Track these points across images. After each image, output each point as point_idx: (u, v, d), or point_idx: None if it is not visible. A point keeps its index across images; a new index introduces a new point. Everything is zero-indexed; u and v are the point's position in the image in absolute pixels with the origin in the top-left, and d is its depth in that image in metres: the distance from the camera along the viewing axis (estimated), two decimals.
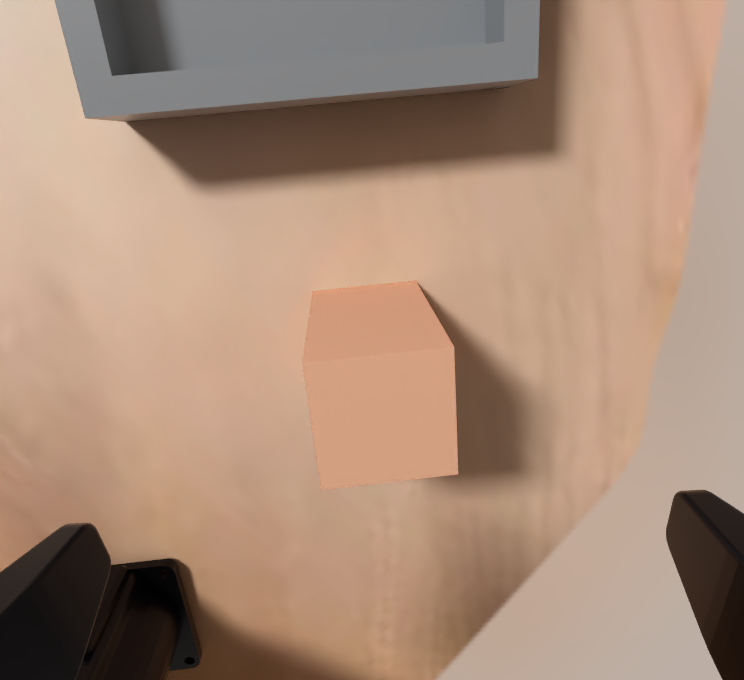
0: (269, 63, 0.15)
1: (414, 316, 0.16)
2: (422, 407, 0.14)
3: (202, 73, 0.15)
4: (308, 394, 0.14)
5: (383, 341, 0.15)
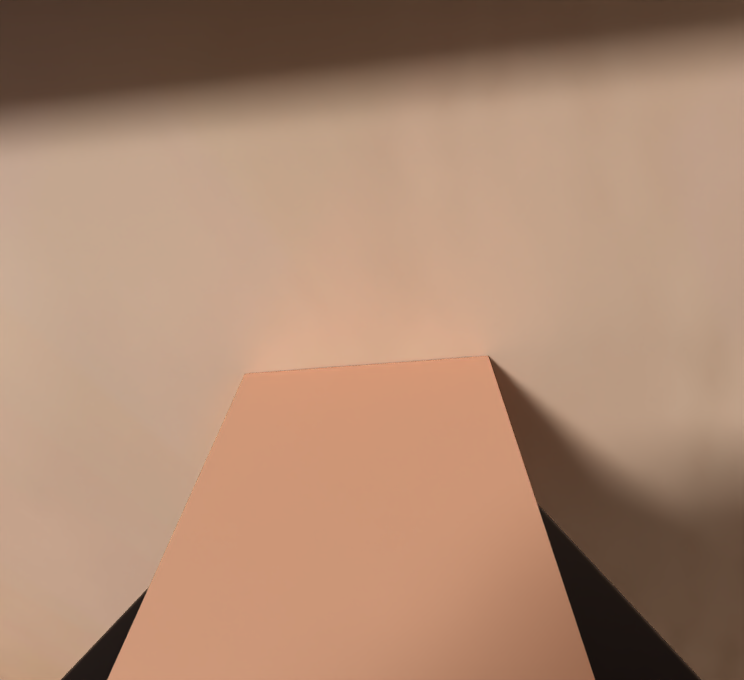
0: None
1: (494, 590, 0.05)
2: None
3: None
4: None
5: None
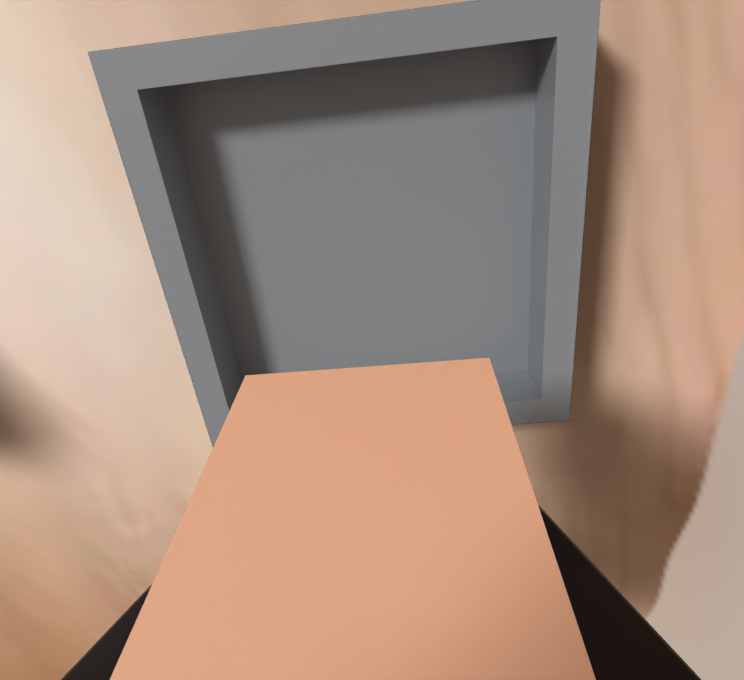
0: None
1: (495, 595, 0.05)
2: None
3: None
4: None
5: None
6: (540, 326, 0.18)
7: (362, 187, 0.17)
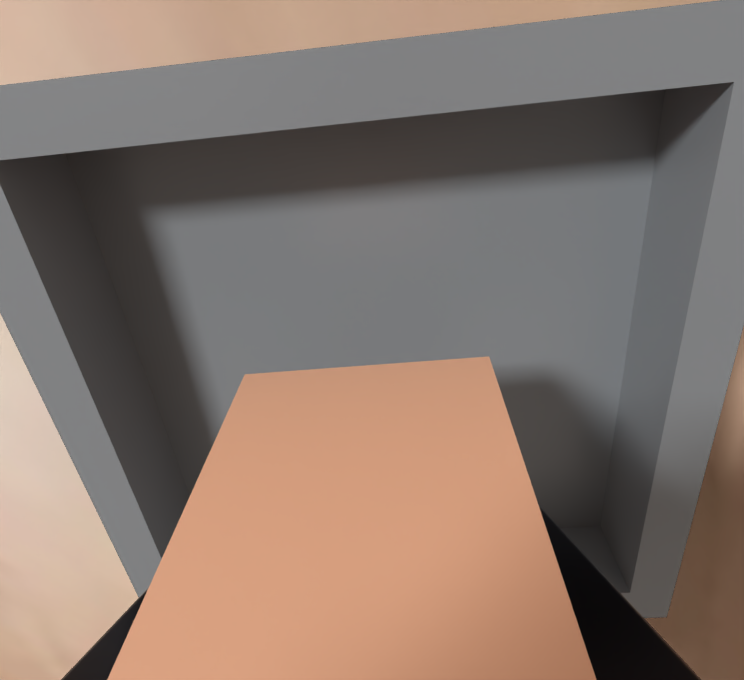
0: None
1: (494, 593, 0.05)
2: None
3: None
4: None
5: None
6: (636, 497, 0.12)
7: (373, 291, 0.11)
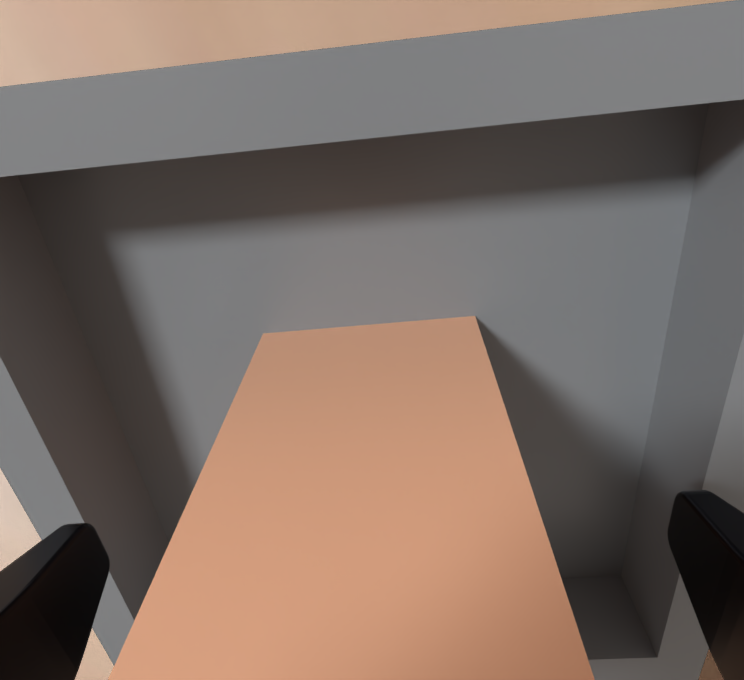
0: None
1: (472, 479, 0.06)
2: None
3: None
4: None
5: (367, 649, 0.04)
6: (666, 554, 0.10)
7: None
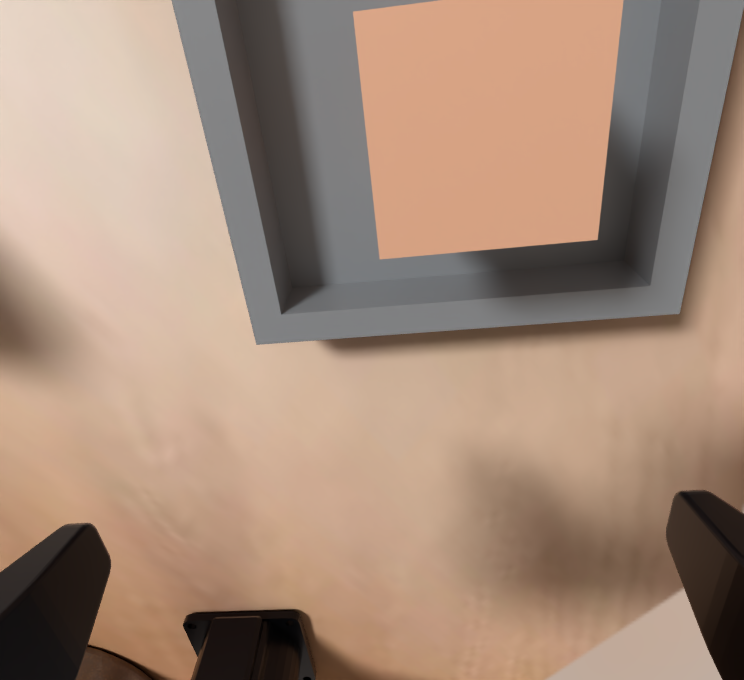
0: (422, 304, 0.16)
1: None
2: (553, 109, 0.09)
3: (360, 311, 0.16)
4: (363, 79, 0.08)
5: None
6: (657, 193, 0.15)
7: None
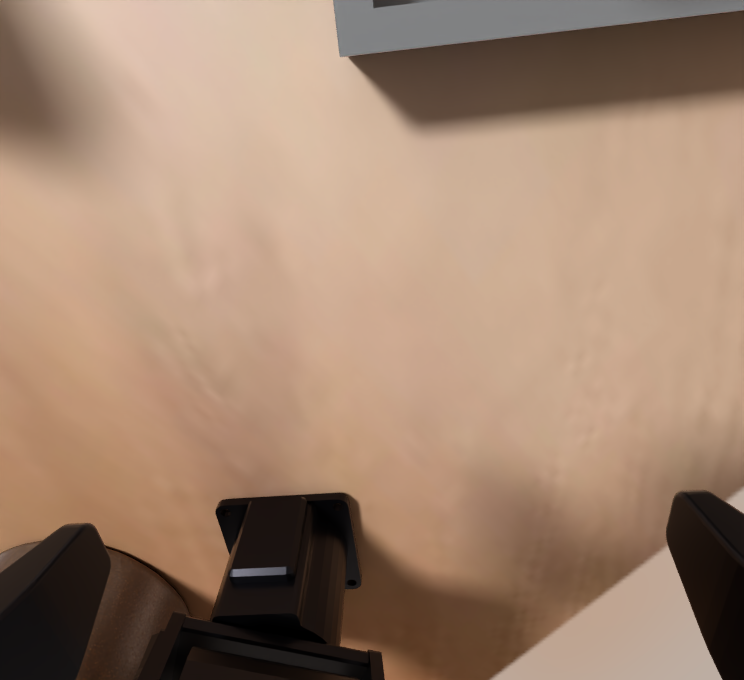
0: None
1: None
2: None
3: (470, 2, 0.13)
4: None
5: None
6: None
7: None
